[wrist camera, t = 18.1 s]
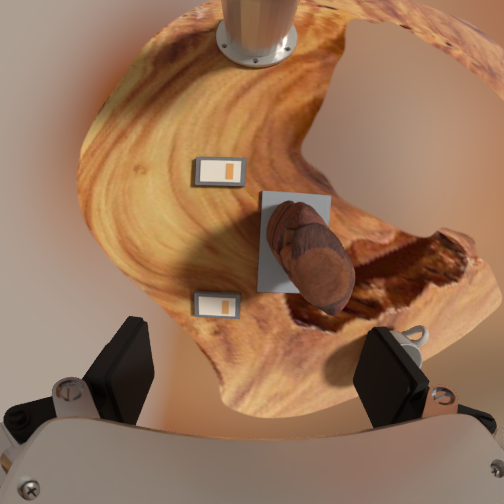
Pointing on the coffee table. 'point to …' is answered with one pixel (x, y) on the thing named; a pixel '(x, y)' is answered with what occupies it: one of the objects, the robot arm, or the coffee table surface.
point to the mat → (268, 267)
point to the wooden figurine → (311, 256)
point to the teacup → (412, 342)
